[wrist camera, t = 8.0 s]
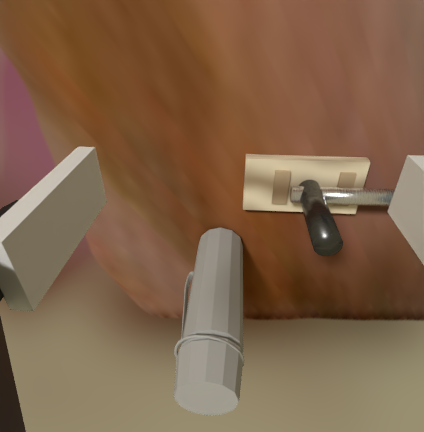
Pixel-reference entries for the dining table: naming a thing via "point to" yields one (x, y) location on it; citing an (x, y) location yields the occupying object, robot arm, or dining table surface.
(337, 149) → the dining table surface
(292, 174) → the panel
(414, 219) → the robot arm
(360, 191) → the metal lever handle
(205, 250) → the water bottle
